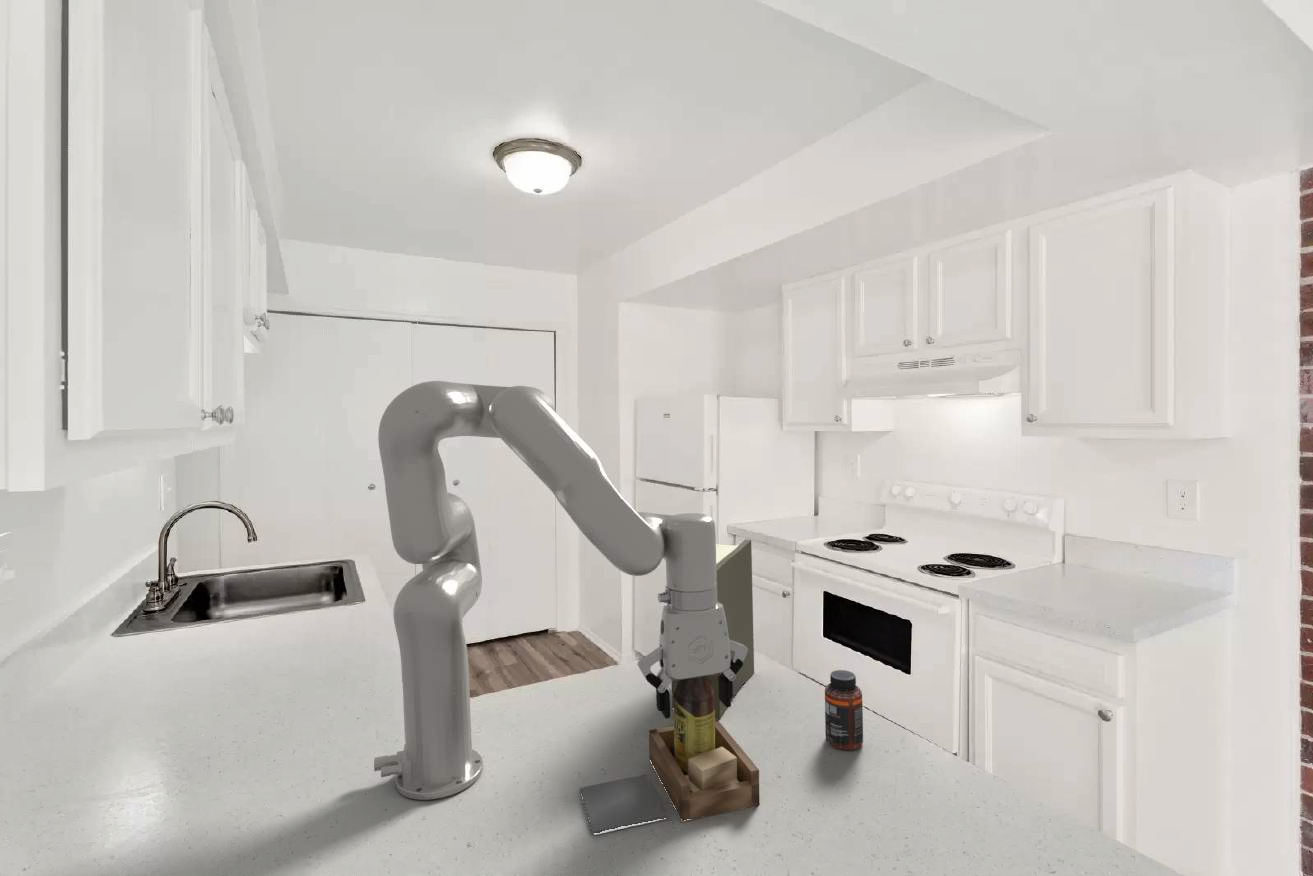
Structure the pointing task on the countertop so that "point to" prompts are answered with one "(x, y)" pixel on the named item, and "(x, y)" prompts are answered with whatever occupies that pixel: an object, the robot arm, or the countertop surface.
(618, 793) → the mat
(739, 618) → the book
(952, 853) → the countertop surface
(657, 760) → the tray
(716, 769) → the offcut top
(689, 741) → the sauce bottle
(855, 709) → the supplement bottle
